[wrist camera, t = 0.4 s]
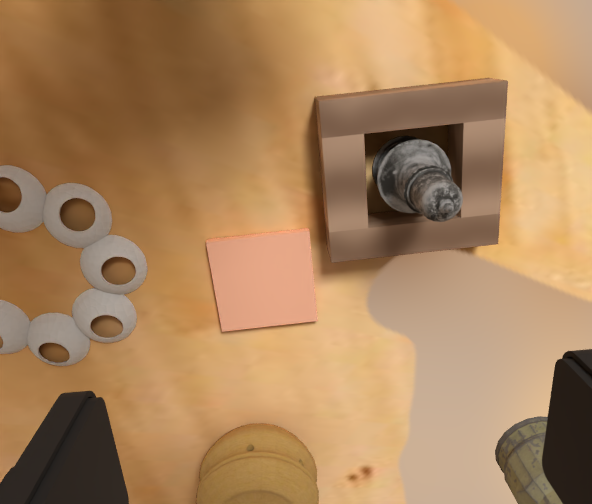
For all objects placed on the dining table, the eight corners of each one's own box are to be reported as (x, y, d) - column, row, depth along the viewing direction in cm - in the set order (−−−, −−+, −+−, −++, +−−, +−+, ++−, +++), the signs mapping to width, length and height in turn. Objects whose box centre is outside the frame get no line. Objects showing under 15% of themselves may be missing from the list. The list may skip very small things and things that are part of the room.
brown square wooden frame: (314, 96, 40) (318, 101, 37) (488, 78, 40) (507, 80, 37) (327, 247, 45) (331, 262, 42) (481, 229, 45) (497, 244, 42)
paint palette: (166, 353, 49) (162, 366, 47) (-36, 371, 48) (-48, 384, 47) (126, 154, 41) (119, 159, 40) (-114, 173, 41) (-132, 179, 39)
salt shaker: (451, 167, 43) (515, 210, 32) (398, 213, 44) (441, 270, 33) (408, 116, 41) (460, 143, 30) (354, 166, 42) (385, 209, 31)
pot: (308, 399, 51) (316, 476, 42) (318, 483, 56) (328, 570, 46) (194, 413, 51) (177, 494, 42) (214, 496, 56) (203, 586, 46)
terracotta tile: (206, 239, 44) (205, 242, 43) (308, 228, 44) (309, 231, 43) (222, 327, 47) (222, 331, 47) (316, 316, 48) (317, 320, 47)
